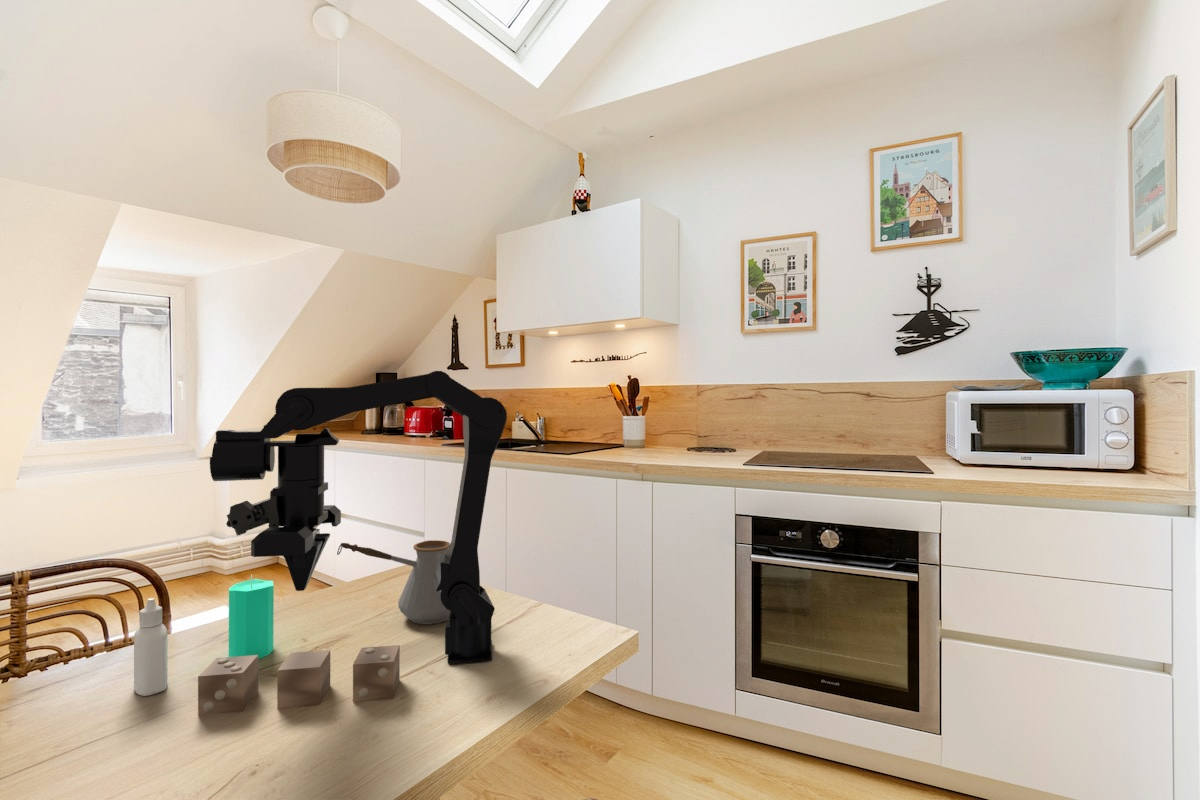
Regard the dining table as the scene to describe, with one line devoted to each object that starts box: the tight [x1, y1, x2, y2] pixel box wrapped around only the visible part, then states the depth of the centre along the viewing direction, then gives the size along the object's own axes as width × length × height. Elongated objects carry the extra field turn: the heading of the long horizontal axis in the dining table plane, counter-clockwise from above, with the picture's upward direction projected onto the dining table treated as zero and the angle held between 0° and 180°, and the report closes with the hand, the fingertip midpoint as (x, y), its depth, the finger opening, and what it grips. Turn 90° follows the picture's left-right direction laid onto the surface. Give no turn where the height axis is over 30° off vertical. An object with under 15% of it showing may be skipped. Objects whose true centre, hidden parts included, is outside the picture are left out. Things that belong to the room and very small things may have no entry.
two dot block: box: [352, 644, 401, 703], centre depth 77 cm, size 5×5×5 cm
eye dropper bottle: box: [133, 597, 169, 697], centre depth 77 cm, size 4×6×12 cm
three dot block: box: [197, 655, 259, 717], centre depth 74 cm, size 5×5×5 cm
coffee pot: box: [336, 539, 451, 625], centre depth 101 cm, size 21×12×15 cm, turn 119°
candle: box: [228, 574, 275, 660], centre depth 88 cm, size 6×6×12 cm
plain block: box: [276, 649, 331, 710], centre depth 75 cm, size 5×5×5 cm
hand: (300, 590), depth 80 cm, fingers closed
